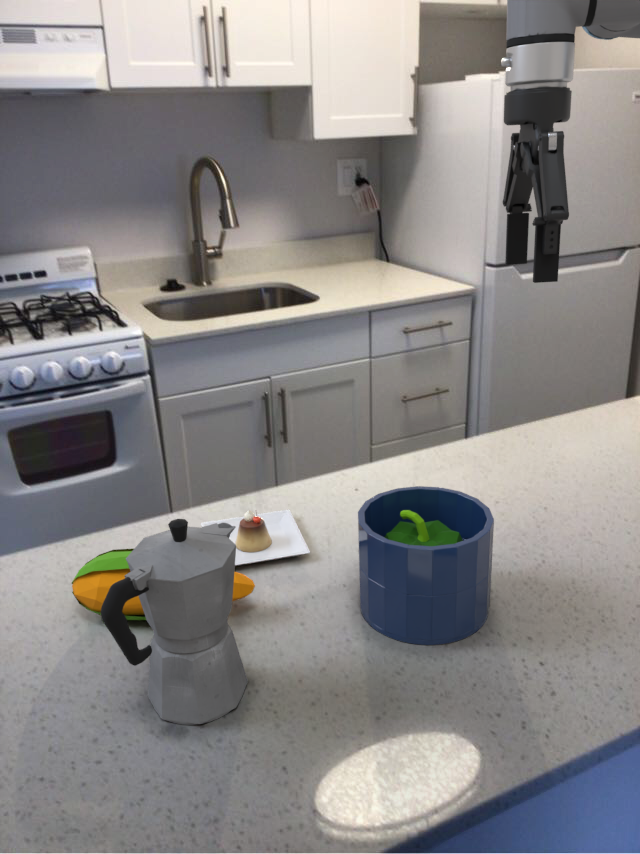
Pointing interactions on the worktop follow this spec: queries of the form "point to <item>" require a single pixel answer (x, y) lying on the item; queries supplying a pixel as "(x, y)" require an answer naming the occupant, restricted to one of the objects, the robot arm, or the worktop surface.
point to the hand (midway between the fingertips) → (529, 272)
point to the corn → (113, 568)
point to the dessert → (264, 536)
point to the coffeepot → (183, 621)
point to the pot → (425, 567)
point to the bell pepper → (422, 532)
